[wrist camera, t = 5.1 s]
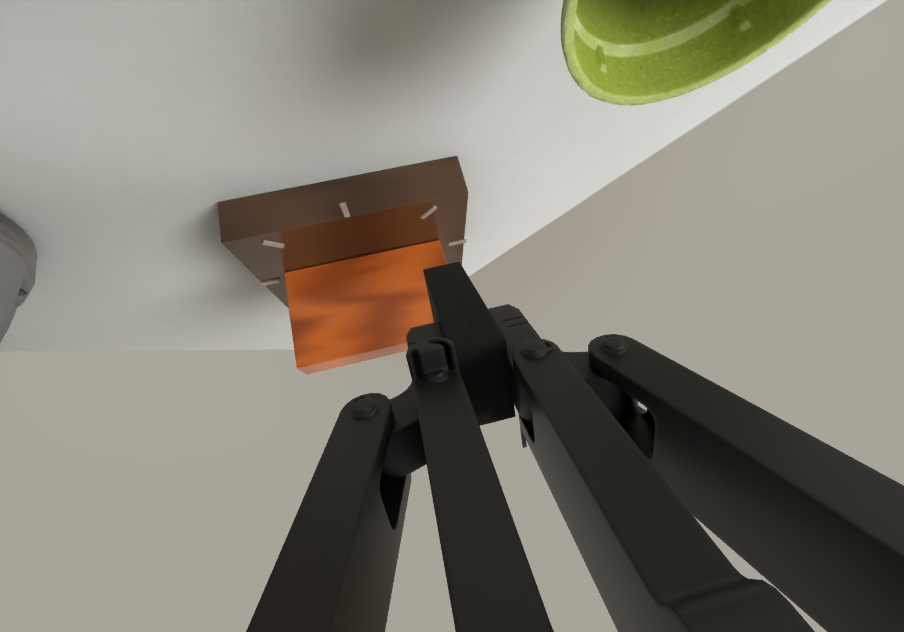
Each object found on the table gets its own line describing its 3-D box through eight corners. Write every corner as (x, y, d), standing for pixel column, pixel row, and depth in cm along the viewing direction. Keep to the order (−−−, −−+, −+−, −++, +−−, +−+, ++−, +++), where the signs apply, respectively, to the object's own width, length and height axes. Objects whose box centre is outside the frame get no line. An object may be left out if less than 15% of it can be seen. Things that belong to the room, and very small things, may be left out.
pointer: (293, 283, 34) (306, 377, 32) (283, 272, 32) (297, 371, 30) (440, 252, 35) (463, 340, 33) (439, 239, 33) (464, 332, 31)
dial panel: (291, 288, 42) (295, 318, 41) (202, 187, 26) (205, 232, 25) (454, 253, 43) (461, 281, 42) (459, 138, 28) (472, 178, 27)
